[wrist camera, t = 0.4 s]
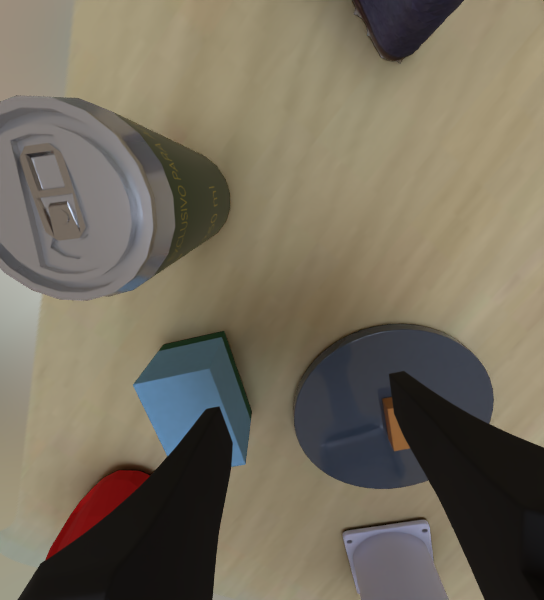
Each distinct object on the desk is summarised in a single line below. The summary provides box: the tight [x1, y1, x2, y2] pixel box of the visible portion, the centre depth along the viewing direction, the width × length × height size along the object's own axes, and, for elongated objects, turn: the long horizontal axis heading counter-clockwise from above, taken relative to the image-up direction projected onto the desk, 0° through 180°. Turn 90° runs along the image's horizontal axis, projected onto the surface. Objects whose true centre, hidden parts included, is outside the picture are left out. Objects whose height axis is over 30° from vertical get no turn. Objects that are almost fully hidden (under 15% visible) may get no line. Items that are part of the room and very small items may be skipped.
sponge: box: [133, 331, 252, 467], centre depth 21 cm, size 8×5×5 cm, turn 14°
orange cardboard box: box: [382, 397, 410, 451], centre depth 22 cm, size 4×3×1 cm
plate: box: [293, 324, 494, 489], centre depth 23 cm, size 15×15×1 cm
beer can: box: [0, 96, 230, 301], centre depth 13 cm, size 5×5×12 cm
